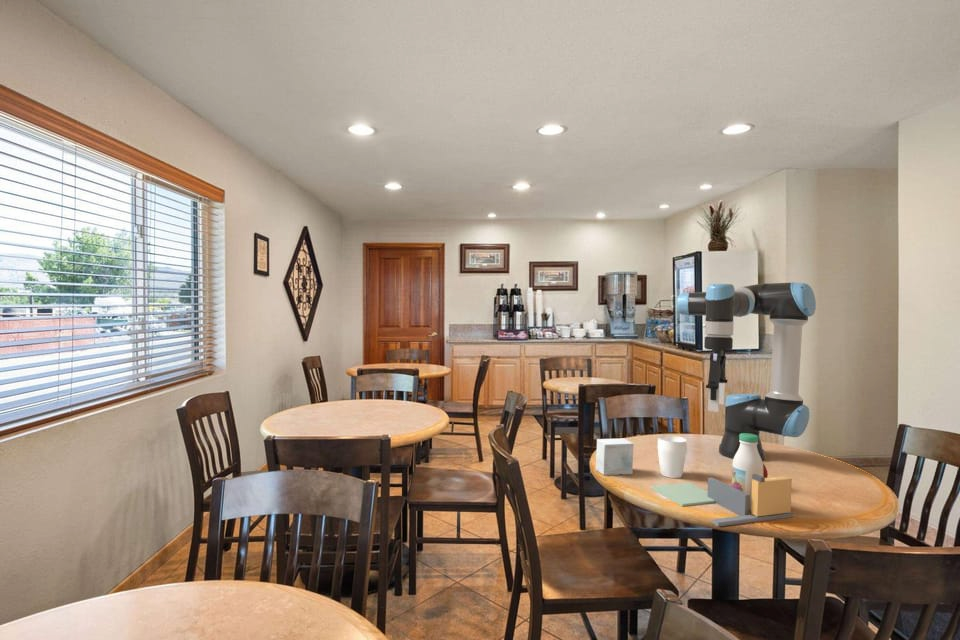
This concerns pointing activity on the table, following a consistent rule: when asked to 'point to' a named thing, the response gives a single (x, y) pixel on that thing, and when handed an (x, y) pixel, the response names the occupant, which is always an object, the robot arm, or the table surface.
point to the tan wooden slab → (770, 495)
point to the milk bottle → (746, 463)
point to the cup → (671, 455)
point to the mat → (684, 494)
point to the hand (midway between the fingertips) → (716, 407)
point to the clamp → (735, 504)
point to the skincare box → (614, 456)
